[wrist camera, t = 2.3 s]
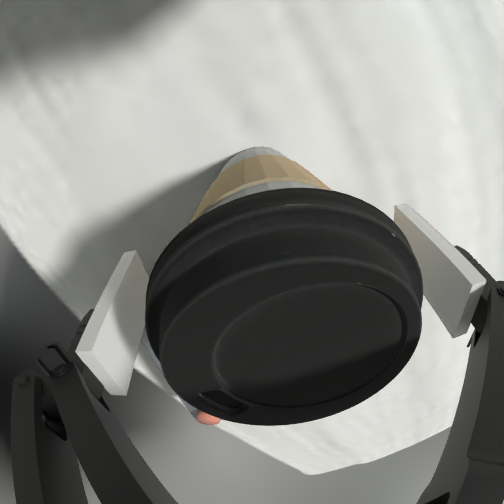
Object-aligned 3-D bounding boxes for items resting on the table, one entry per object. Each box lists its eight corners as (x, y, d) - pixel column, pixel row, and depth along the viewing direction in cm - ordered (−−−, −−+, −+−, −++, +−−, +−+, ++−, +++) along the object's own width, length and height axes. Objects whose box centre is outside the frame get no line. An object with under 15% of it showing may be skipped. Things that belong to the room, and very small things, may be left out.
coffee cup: (175, 219, 22) (118, 405, 9) (223, 98, 17) (186, 146, 5) (288, 259, 24) (332, 438, 12) (347, 156, 20) (490, 292, 7)
